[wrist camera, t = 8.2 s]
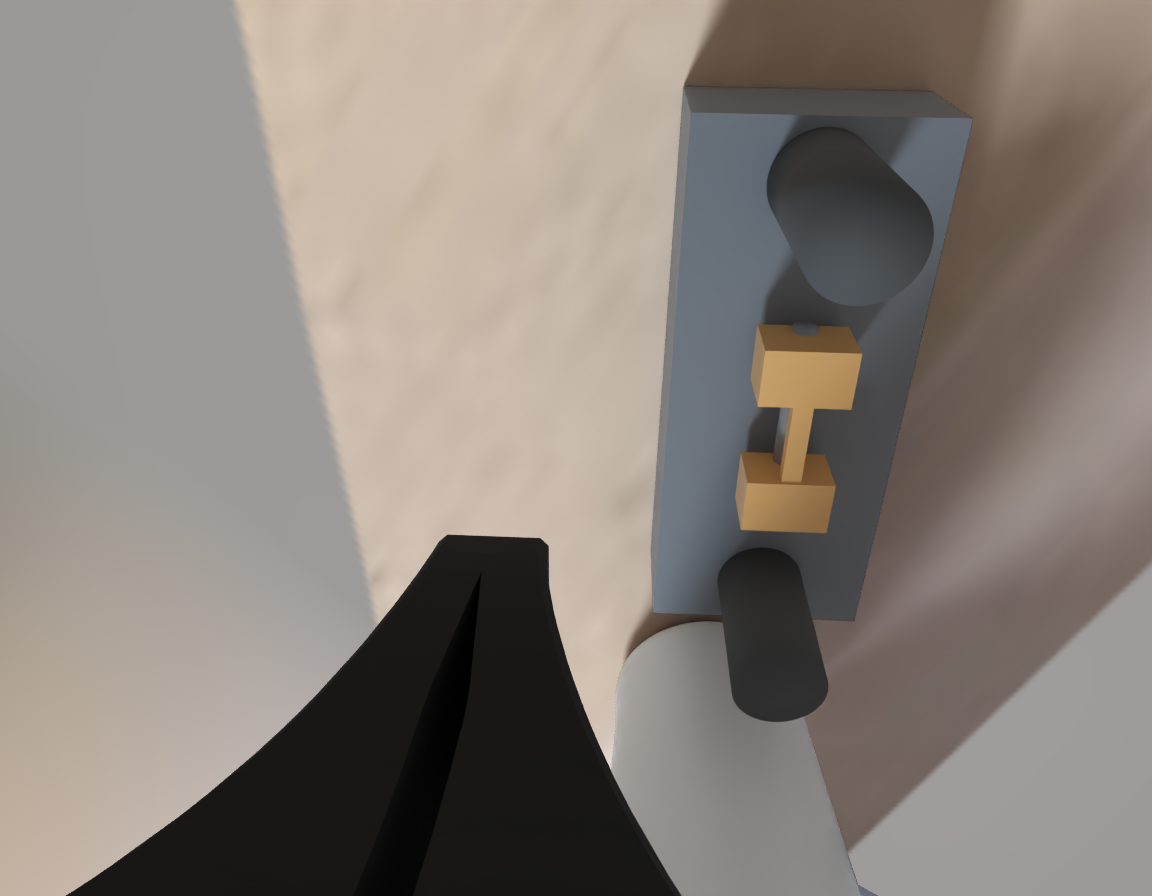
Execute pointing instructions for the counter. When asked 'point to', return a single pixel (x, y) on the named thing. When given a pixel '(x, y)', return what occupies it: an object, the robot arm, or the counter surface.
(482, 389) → the counter surface
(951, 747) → the counter surface
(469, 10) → the counter surface
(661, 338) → the counter surface
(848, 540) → the grey base plate
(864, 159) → the cord plug front
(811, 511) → the tan wooden dumbbell piece
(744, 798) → the drinking glass
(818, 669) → the cord plug back
